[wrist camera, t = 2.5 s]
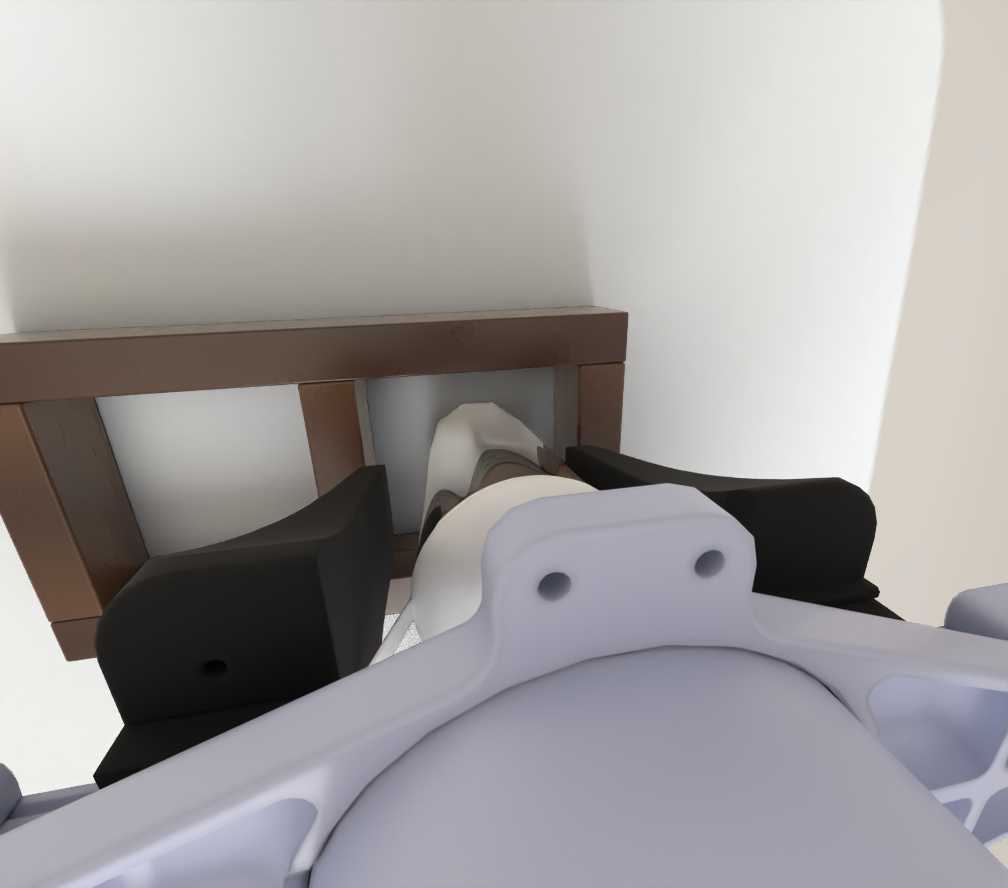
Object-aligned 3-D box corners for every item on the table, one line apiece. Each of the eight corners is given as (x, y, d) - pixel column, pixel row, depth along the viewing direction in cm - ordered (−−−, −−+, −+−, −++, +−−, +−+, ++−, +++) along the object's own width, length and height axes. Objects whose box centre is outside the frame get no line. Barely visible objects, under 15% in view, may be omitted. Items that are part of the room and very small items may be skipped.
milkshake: (379, 386, 15) (329, 566, 6) (542, 377, 16) (721, 522, 7) (393, 512, 17) (369, 813, 7) (540, 498, 18) (684, 751, 8)
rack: (587, 542, 19) (613, 582, 16) (117, 604, 16) (65, 663, 14) (595, 305, 15) (629, 311, 13) (13, 332, 13) (-79, 346, 10)
